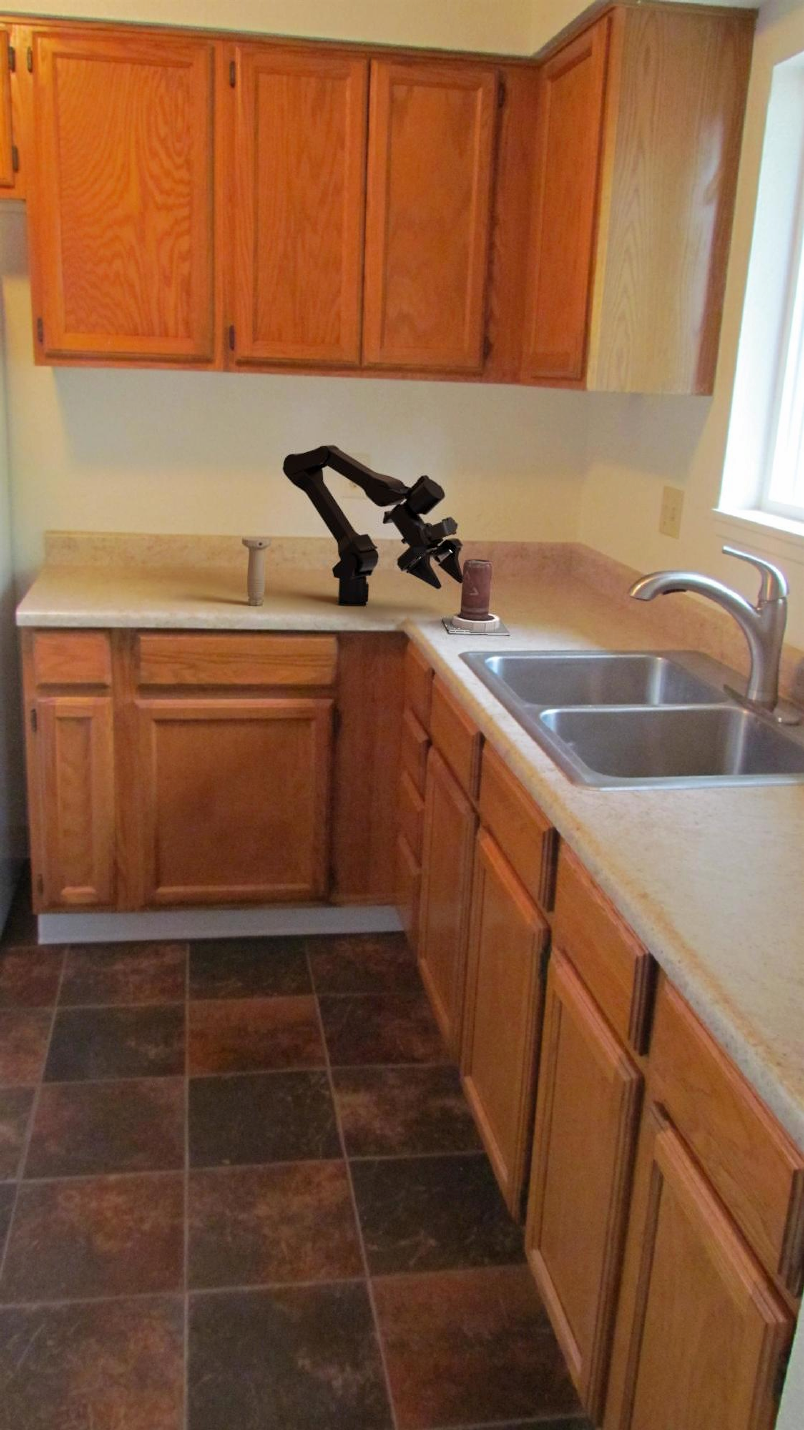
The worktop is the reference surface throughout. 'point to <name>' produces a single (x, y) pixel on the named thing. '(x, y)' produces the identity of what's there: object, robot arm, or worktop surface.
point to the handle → (256, 568)
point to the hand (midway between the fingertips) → (451, 585)
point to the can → (476, 590)
